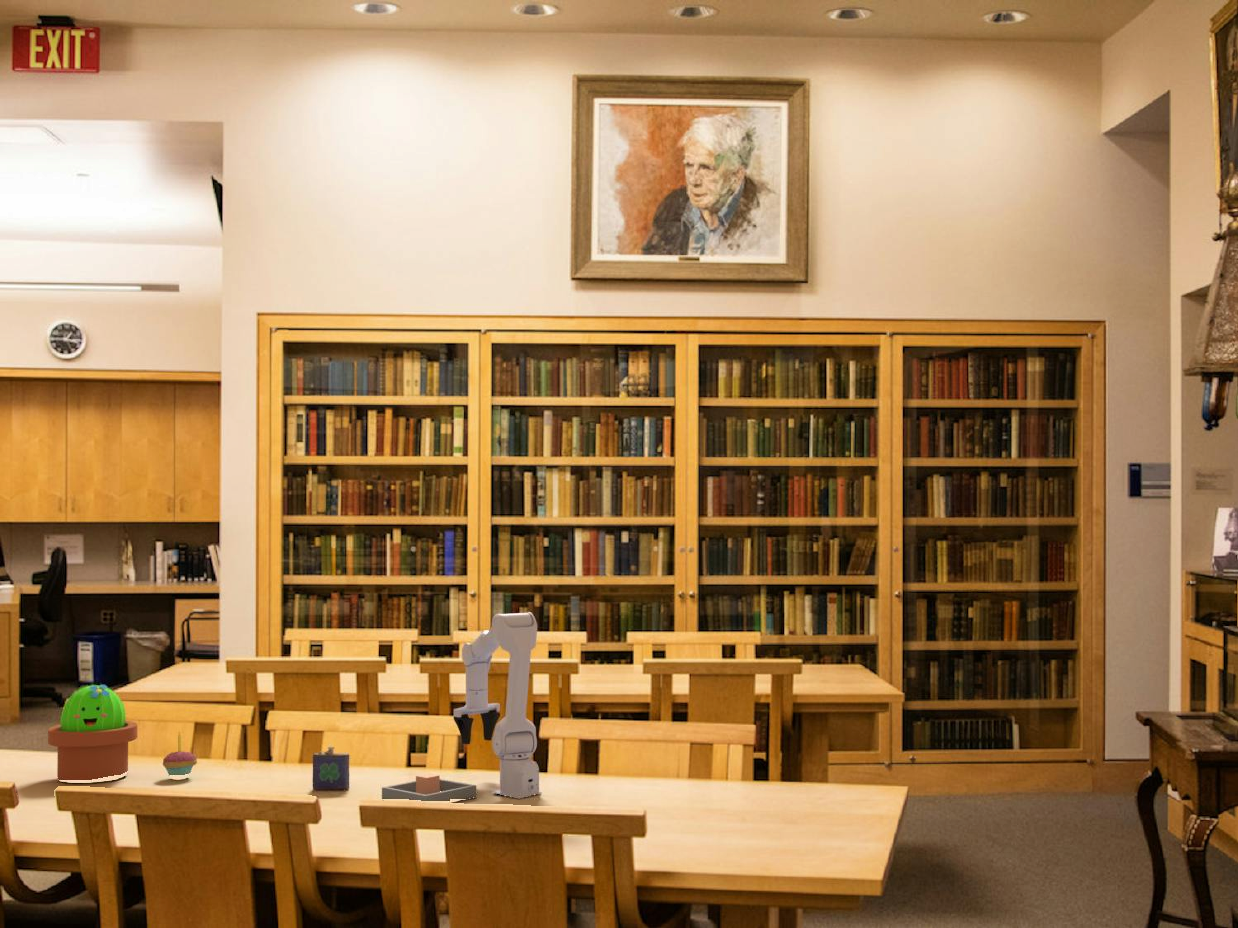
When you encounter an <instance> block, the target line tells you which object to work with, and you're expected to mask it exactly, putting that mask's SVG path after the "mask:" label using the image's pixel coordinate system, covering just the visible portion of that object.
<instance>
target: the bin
mask: <svg viewBox="0 0 1238 928" xmlns="http://www.w3.org/2000/svg"><path fill="white" fill-rule="evenodd" d="M440 791H441V792H437V793H432V794H427V795H425V794H420V793H416V780H413V781H407V782H403V783H398V784H393V785H387V786H382V787H381V800H382V799H409V800H421V801H450V799H469V798H473V797H476V798H477V785H476V784H472V783H465V782H460V781H455V780H447V779H442V778H440ZM469 800H470V799H469Z"/></svg>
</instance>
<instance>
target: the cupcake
mask: <svg viewBox="0 0 1238 928" xmlns="http://www.w3.org/2000/svg"><path fill="white" fill-rule="evenodd" d="M180 733H181V732H180V731H178V735H177V748H178V749H177V751H175V752H173V751H172V752H171V753H168V754H167V755H166V756H165V757H164V758H163V759H162V760H163V762H162V766H163V767H164V768H165V770H166V773H167V774H169V775H185V774H189V773H190V774H191V772H192V769H193V767H194V766H195V765H197V764H198V761H197V760H198V759H197V757H196V756H195V755H194V754H193V753H192V752H189V751H182V743H181V742H182V741H181V740H182V739H181V738H182V737H181V735H182V734H180ZM169 775H168V776H169Z"/></svg>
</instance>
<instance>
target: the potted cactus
mask: <svg viewBox="0 0 1238 928" xmlns="http://www.w3.org/2000/svg"><path fill="white" fill-rule="evenodd" d="M78 688H79V689H77V690H75V691H73V693H72V695H70V697H69V698H68V699H67V701H65V704H64V705H63V707H60V709H62V712H61V715H60V723H59V724H57V725H53V726H51V727H49V728H48V730H47V744H48V745H49V746H53V747H57V770H56V771H57V777H58V778H57V780H58V779H59V780H92V779H98V778H103V777H108V776H114V775H121V774H123V773H125V772H127V771H128V772H129V743H130V742H132V741H134V740H136V739H137V738H138V723H137V722H135V721H132V720H131V721H130V720H127V719H126V715H127V714H128V712H126V709H125V706H124V703H123V702H122V699H123V698H120V696H119V695H118V693H116V692H115V691H114V690H113V689H111V688H109V687H108V685H106V684H100V685H97V684H90V685H88V684H86V685H81V686H80V687H78ZM59 780H58V781H59Z"/></svg>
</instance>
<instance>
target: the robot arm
mask: <svg viewBox="0 0 1238 928" xmlns="http://www.w3.org/2000/svg"><path fill="white" fill-rule="evenodd" d="M537 634H538V623H537V620H536V617H535V616H534V614H533V613H532V612H530V611H528V612H518V613H514V612H513V613H496V614H495V615H494V616H493V617H492V621H491V627H490V629H489V630H488V629H487V630H482V631H481V632H480V634H479V635H478V636H477V637H476V638H475V639H474V640H473V641H472V642H465V643H464V644H463V645H462V649H461V659H462V663H463V665H465V705H464V706H461V707H458V708H453V721H454V723H455V724H456V726H457V728H458V731H459V734H460V738H461V741H462V744H463V745H471V738H472V737H471V735H472V726H473V722H474V719H475V718H473V717H470V716H471V715H478V714H479V715H480V717H481V722H482V727H483V728H482V729H483V739H484V741H491V745H492V747H491V748H492V751H493V753H494V755H495V756H496V757H497V759H498V758H499V790H496V791H492V792H491V793H493V795H495V794H500V795H499V796H501V795H506V796H511V797H510V798H512V797H514V798H513V799H517V798H518V799H519V800H520V799H524V797H525V798H527V797H528V796H529V797H532V796H531V795H534V794H538V795H542V793H543V792H542V791H540V768H539V765H538V763H537V761H534V760H532V759H531V758H532V757H533V754H534V753H535V751H536V749H537V745H538V740H537V730H536V729H537V727H536V726H535V724H534V722H532V721H531V720H529V719H528V718H527V705H528V694H529V684H530V683H529V680H530V679H529V678H530V669H531V656H532V655H531V654H532V650H533V649H534V648H536V645H537V644H536V643H537V636H538V635H537ZM499 648H501V650H503V651H505V652H508V654H509V660H508V661H509V664H508V675H507V676H508V677H507V690H506V701H505V716H504V717H503V718H502V719H500V718H501V713H500V710H501V706H500V703H499V702H498V703H497V702H493V703H489V671H490V669H491V668H490V667H491V663H492V657H493V654H494V653H495V652H496V651H497V650H498V649H499ZM499 719H500V720H499ZM506 796H505V797H506ZM534 796H535V795H534Z"/></svg>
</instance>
